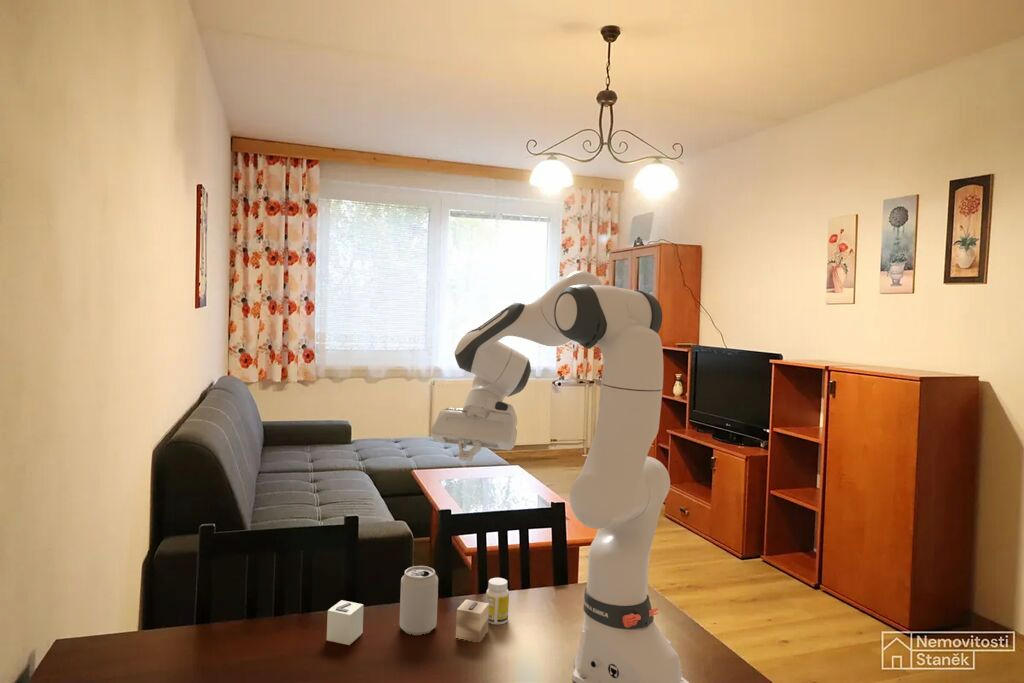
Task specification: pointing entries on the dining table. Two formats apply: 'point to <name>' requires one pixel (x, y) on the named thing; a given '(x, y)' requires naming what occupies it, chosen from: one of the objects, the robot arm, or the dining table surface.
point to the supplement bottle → (497, 601)
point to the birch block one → (472, 620)
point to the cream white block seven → (345, 622)
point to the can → (418, 600)
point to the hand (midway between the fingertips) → (464, 459)
